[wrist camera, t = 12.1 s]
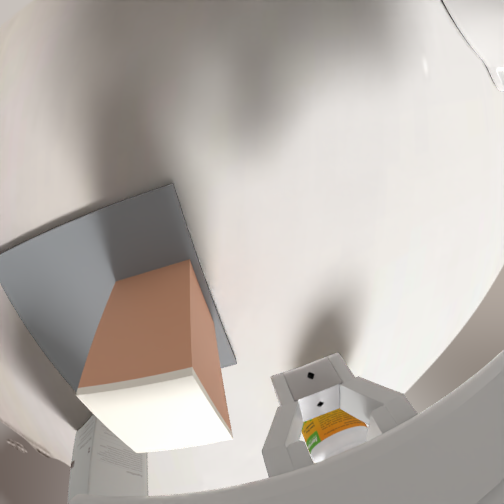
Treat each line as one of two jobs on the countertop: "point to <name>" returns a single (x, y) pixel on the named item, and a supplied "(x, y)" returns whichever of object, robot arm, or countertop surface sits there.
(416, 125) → the countertop surface
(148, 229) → the mat
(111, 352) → the block
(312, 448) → the supplement bottle
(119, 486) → the skincare box
